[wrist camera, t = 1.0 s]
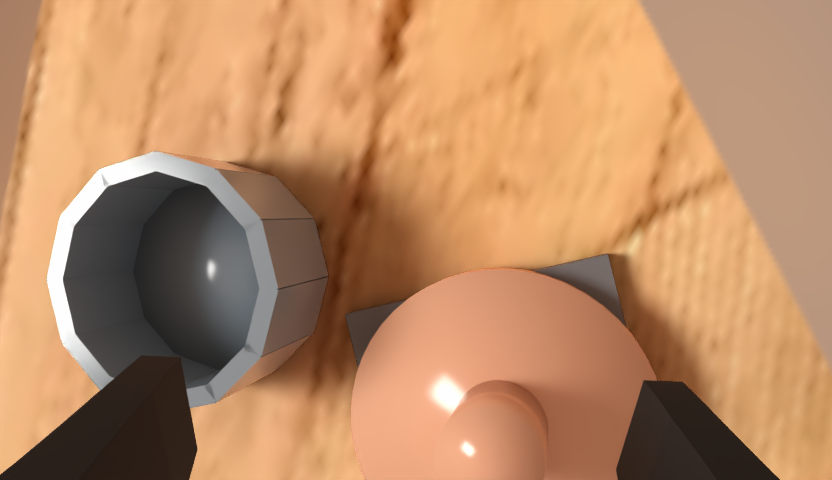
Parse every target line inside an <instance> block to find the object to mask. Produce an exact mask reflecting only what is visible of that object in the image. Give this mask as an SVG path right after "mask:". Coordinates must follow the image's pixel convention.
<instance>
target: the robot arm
mask: <svg viewBox="0 0 832 480" xmlns="http://www.w3.org/2000/svg"><path fill="white" fill-rule="evenodd" d="M196 453H197V445H196V439H195V434H194V428H193V423H192V417H191V412H190V406H189V401H188V395H187V390H186V384H185V379H184V373H183V368H182V362H181V357H165V356H144V355H141V356H140V357H139V358H138V359H136V360H135V361H134V362H133V363H132V364H130V365H129V366H128V367H127V368H126V369H125V370H123V371H122V372H121V373H120V374H119V375H118V376H116V377H115V378H114V379H113V380H112V381H111V382H109V383H108V384H107V385H106V386H105V387H104V388H103V389H101V390H100V391H99V392H98V393H97V394H96V395H94V396H93V397H92V398H91V399H90V400H89V401H88V402H86V403H85V404H84V405H83V406H82V407H81V408H80V409H78V410H77V411H76V412H75V413H74V414H73V415H71V416H70V417H69V418H68V419H67V420H66V421H65V422H63V423H62V424H61V425H60V426H59V427H57V428H56V429H55V430H54V431H53V432H51V433H50V434H49V435H48V436H47V437H46V438H44V439H43V440H42V441H41V442H40V443H38V444H37V445H36V446H35V447H34V448H32V449H31V450H30V451H29V452H28V453H26V454H25V455H24V456H23V457H22V458H21V459H19V460H18V461H17V462H16V463H14V464H13V465H12V466H11V467H9V468H8V469H7V470H6V471H4V472H3V473H2V474H1V475H0V480H189V478H190V474H191V471H192V467H193V464H194V460H195V457H196ZM616 473H617V478H618V480H780V479H779V478H778V477H777V476H776V475H775V474H774V473H773V472H772V471H771V470H770V469H769V468H768V467H767V466H766V465H765V464H764V463H763V462H762V461H761V460H760V459H759V458H758V457H757V456H756V455H755V454H754V453H753V452H752V451H751V450H750V449H749V448H748V447H747V446H746V445H745V444H744V443H743V442H742V441H741V440H740V439H739V438H738V437H737V436H736V435H735V434H734V433H733V432H732V431H731V430H730V429H729V428H728V427H727V426H726V425H725V424H724V423H723V422H722V421H721V420H720V419H719V418H718V417H717V416H716V415H715V414H714V413H713V412H712V411H711V410H710V409H709V408H708V407H707V406H706V405H705V404H704V403H703V402H702V401H701V400H700V399H699V398H698V397H697V396H696V395H695V394H694V393H693V392H692V391H691V390H690V389H689V388H688V387H687V386H686V385H685V384H684V383H683V382H672V381H652V380H644V381H643V384H642V387H641V390H640V394H639V397H638V400H637V403H636V406H635V410H634V413H633V416H632V419H631V422H630V426H629V429H628V432H627V435H626V439H625V442H624V445H623V448H622V451H621V455H620V458H619V461H618V464H617V468H616Z"/></svg>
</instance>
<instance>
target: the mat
mask: <svg viewBox="0 0 832 480" xmlns="http://www.w3.org/2000/svg"><path fill="white" fill-rule="evenodd" d="M533 271H534V272H538V273H542V274H546V275H549V276H552V277H555V278H557V279H560V280H563V281H565V282H567V283H569V284H571V285H573V286H575V287H577V288H579V289H581V290H583V291H585V292H586V293H588V294H589V295H590V296H592V297H593V298H595V299H596V300H598V301H599V302H601V303H602V304H603V305H604V306H605V307H606V308H608V309H609V310H610V311H611V312H612V313H613V314H614V315H615V316H616V317H618V318H619V320H620V321H621V322H622V323H623V324H624V325H625V327H626V324H625V320H624V316H623V312H622V308H621V304H620V300H619V296H618V293H617V289H616V285H615V281H614V277H613V273H612V269H611V265H610V261H609V257H608V254H603V255H598V256H594V257H590V258H585V259H581V260H576V261H572V262H568V263H563V264H559V265H555V266H550V267H546V268H541V269H537V270H533ZM406 300H407V299H406ZM406 300H402V301H397V302H393V303H389V304H384V305H380V306H376V307H371V308H367V309H362V310H358V311H354V312H350V313H348V314H346V315H345V316H346V320H347V325H348V329H349V333H350V337H351V341H352V345H353V349H354V353H355V357H356V361H357V365H358V368H359V365H360V362H361V359H362V357H363V355H364V353H365V351H366V349H367V347H368V345H369V343H370V341H371V339H372V338H373V336H374V335H375V333H376V332H377V330H378V329H379V327H380V326H381V325H382V323H383V322H384V321H385V320H386V319H387V318H388V317H389V316H390V314H391V313H392V312H393V311H394V310H395V309H397V308H398V307H399V306H400V305H401V304H402V303H404V302H405V301H406Z"/></svg>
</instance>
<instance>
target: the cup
mask: <svg viewBox="0 0 832 480" xmlns="http://www.w3.org/2000/svg"><path fill="white" fill-rule="evenodd" d="M327 276H329V275H328V271H327V267H326V263H325V259H324V255H323V251H322V247H321V243H320V239H319V235H318V230H317V226H316V222H315V219H314V217H313V216H312V215H311V214H310V213H309V212H308V211H307V210H306V209H305V208H304V206H303V205H302V204H301V203H300V202H299V201H298V200H297V199H296V198H295V197H294V196H293V194H292V193H291V192H290V191H289V190H288V189H287V188H286V187H285V186H284V185H283V183H282V182H281V181H280V180H279V179H278V178H277V177H275V176H273V175H270V174H266V173H263V172H259V171H256V170H252V169H249V168H245V167H242V166H239V165H235V164H232V163H228V162H224V161H218V160H211V159H205V158H198V157H192V156H185V155H179V154H172V153H166V152H159V151H154V152H151V153H148V154H145V155H142V156H138V157H135V158H132V159H129V160H126V161H123V162H120V163H117V164H114V165H111V166H108V167H104V168H101V169H100V170H98V171H97V172H96V174H95V175H94V176H93V177H92V178H91V180H90V181H89V182H88V183H87V184H86V186H85V187H84V188H83V189H82V190H81V192H80V193H79V194H78V195H77V196H76V198H75V199H74V200H73V201H72V202H71V204H70V205H69V206H68V207H67V208H66V210H65V211H64V212H63V213H62V214H61V217H60V218H59V223H58V228H57V233H56V237H55V242H54V247H53V251H52V256H51V261H50V266H49V270H48V275H47V279H48V280H47V283H48V287H49V291H50V296H51V300H52V304H53V308H54V313H55V317H56V321H57V325H58V330H59V334H60V338H61V342H63V343H62V344H63V345H64V346H65V348H66V349H67V350H68V351H69V352H70V354H71V355H72V356H73V357H74V359H75V360H76V361H77V362H78V364H79V365H80V366H81V367H82V369H83V370H84V371H85V372H86V374H87V375H88V376H89V377H90V378H91V380H92V381H93V382H94V383H95V385H96V386H97V387H98V388H99V390H101V389H103V388H104V387H105V386H106V385H107V384H108V383H109V382H111V381H112V380H113V379H114V378H115V377H116V376H118V375H119V374H120V373H121V372H122V371H123V370H125V369H126V368H127V367H128V366H129V365H130V364H132V363H133V362H134V361H135V360H136V359H138V358H139V357H140V356H141V355H144V356H165V357H181V362H182V368H183V373H184V379H185V384H186V390H187V395H188V401H189V406H190V408H193V407H198V406H203V405H208V404H213V403H216V402H218V401H220V400H222V399H224V398H226V397H228V396H230V395H231V394H233V393H235V392H237V391H239V390H241V389H243V388H245V387H246V386H248V385H250V384H252V383H254V382H256V381H258V380H259V379H261V378H263V377H265V376H267V375H269V374H271V373H273V372H274V371H276V370H277V369H278V368H279V367H280V366H281V365H282V364H283V363H284V362H285V361H286V360H287V359H288V358H289V357H290V356H291V355H292V354H293V353H294V352H295V351H296V350H297V349H298V348H299V347H300V346H301V345H302V344H303V343H304V342H305V341H306V340H307V339H308V338H309V337H310V336H311V335H312V334H313V332H314V331H315V327H316V323H317V319H318V316H319V312H320V308H321V304H322V300H323V296H324V293H325V289H326V285H327V281H328V277H327Z"/></svg>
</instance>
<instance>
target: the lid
mask: <svg viewBox="0 0 832 480" xmlns="http://www.w3.org/2000/svg"><path fill="white" fill-rule="evenodd" d="M644 380H652V381H658V380H657V377H656V375H655V373H654V371H653V369H652V367H651V365H650V363H649V361H648V359H647V357H646V355H645V353H644V352H643V350H642V349H641V347H640V345H639V344H638V342H637V341H636V339H635V338H634V336H633V335H632V334H631V332H630V331H629V330H628V329H627V328H626V327H625V325H624V324H623V323H622V322H621V321H620V320H619V318H618V317H616V316H615V315H614V314H613V313H612V312H611V311H610V310H609V309H608V308H606V307H605V306H604V305H603V304H602V303H601V302H599V301H598V300H596V299H595V298H593V297H592V296H590V295H589V294H588V293H586V292H585V291H583V290H581V289H579V288H577V287H575V286H573V285H571V284H569V283H567V282H565V281H563V280H560V279H557V278H555V277H552V276H549V275H546V274H542V273H538V272H534V271H530V270H524V269H514V268H484V269H478V270H472V271H466V272H463V273H460V274H456V275H453V276H450V277H447V278H445V279H443V280H440V281H438V282H436V283H434V284H432V285H430V286H428V287H426V288H424V289H422V290H421V291H419V292H418V293H416V294H415V295H413V296H411V297H410V298H408V299H407V300H406V301H405V302H404V303H402V304H401V305H400V306H399V307H398V308H397V309H395V310H394V311H393V312H392V313H391V314H390V316H389V317H388V318H387V319H386V320H385V321H384V322H383V323H382V325H381V326H380V327H379V329H378V330H377V332H376V333H375V335H374V336H373V338H372V339H371V341H370V343H369V345H368V347H367V349H366V351H365V353H364V355H363V357H362V359H361V362H360V365H359V368H358V371H357V374H356V378H355V383H354V388H353V393H352V404H351V425H352V436H353V441H354V447H355V452H356V455H357V459H358V462H359V465H360V468H361V471H362V474H363V476H364V478H365V480H618V478H617V473H616V468H617V464H618V461H619V458H620V455H621V451H622V448H623V445H624V442H625V439H626V435H627V432H628V429H629V426H630V422H631V419H632V416H633V413H634V410H635V406H636V403H637V400H638V397H639V394H640V390H641V387H642V384H643V381H644Z"/></svg>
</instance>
